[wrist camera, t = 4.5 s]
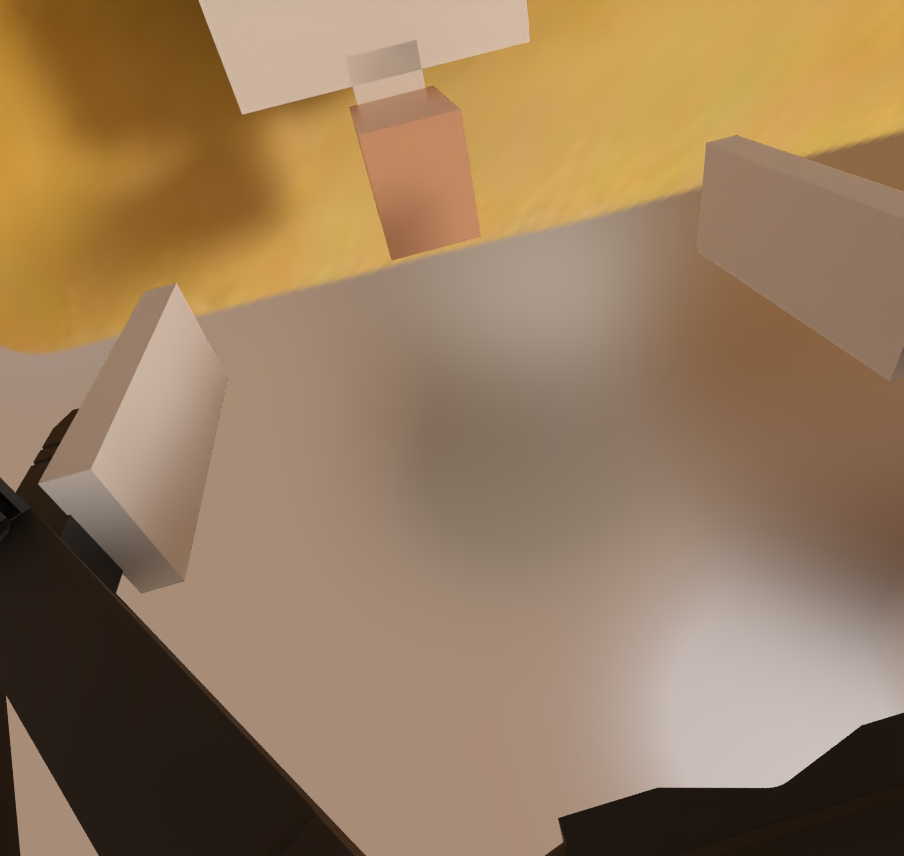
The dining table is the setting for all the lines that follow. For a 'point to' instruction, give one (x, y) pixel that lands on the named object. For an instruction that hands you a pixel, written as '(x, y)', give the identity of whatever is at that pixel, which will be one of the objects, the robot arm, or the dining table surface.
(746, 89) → the dining table surface
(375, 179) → the lid
